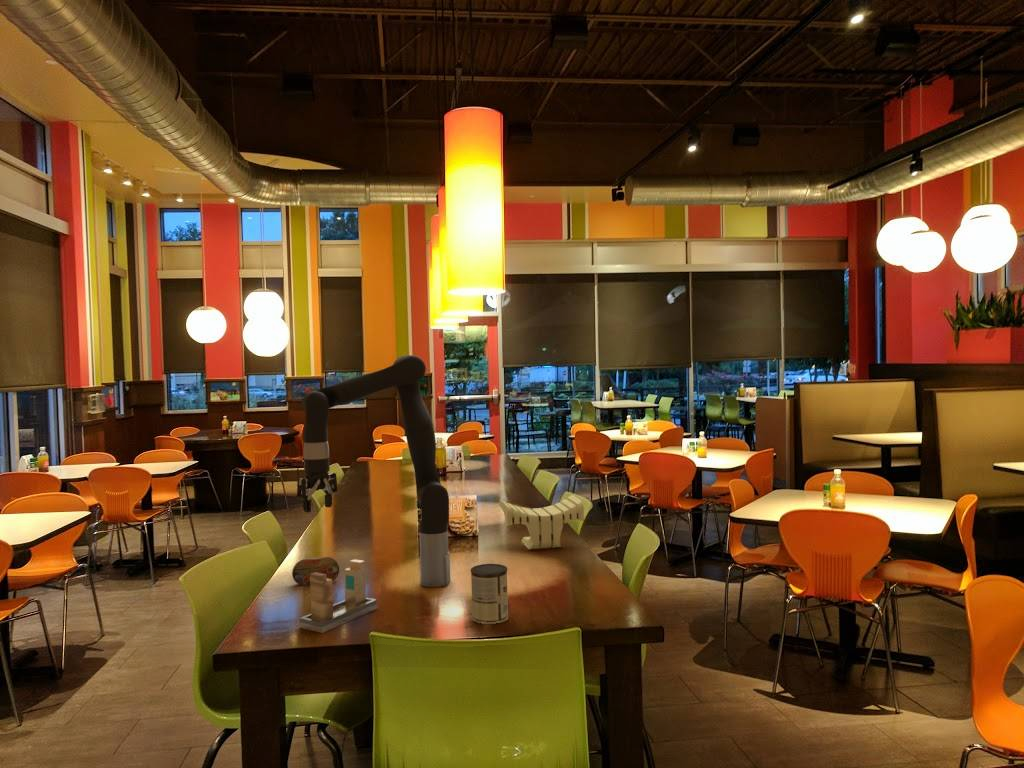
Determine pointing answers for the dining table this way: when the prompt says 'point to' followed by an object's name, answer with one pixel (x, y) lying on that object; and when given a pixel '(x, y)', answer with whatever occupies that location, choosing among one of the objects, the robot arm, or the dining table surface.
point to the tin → (314, 569)
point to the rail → (346, 601)
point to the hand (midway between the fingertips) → (318, 509)
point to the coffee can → (489, 593)
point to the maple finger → (321, 597)
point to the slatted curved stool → (544, 521)
